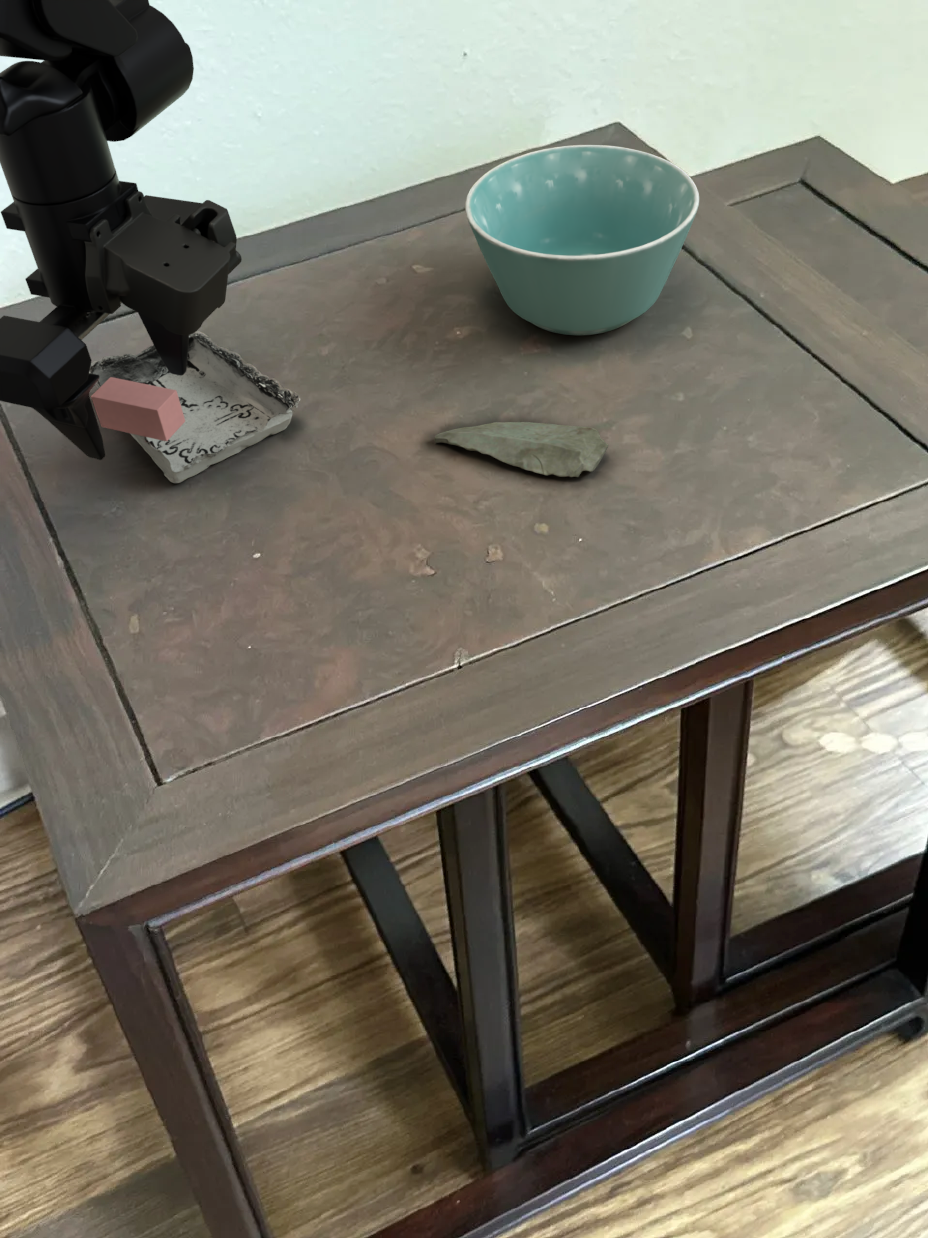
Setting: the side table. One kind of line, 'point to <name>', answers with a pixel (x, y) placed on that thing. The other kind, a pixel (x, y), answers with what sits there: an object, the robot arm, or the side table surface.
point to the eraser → (138, 408)
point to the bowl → (582, 233)
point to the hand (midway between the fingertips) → (139, 413)
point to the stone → (533, 445)
